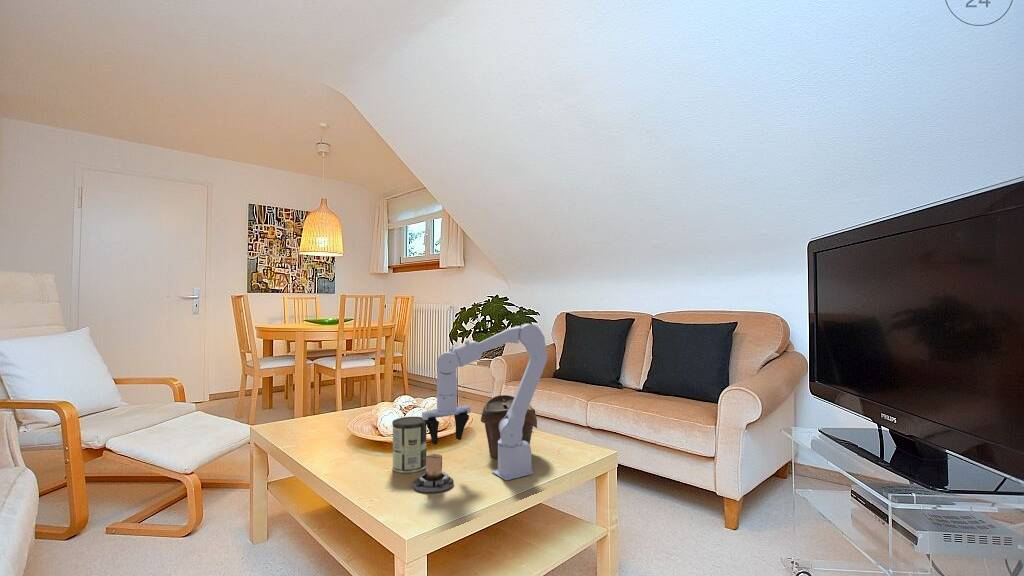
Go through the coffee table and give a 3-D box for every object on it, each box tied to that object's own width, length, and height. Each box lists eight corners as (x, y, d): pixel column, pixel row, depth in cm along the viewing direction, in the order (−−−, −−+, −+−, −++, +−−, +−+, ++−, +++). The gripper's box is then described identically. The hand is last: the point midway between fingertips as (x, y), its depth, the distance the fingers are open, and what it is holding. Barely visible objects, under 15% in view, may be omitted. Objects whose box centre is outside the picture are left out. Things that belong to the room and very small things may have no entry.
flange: (442, 474, 137) (442, 466, 137) (460, 487, 128) (460, 478, 128) (406, 483, 131) (406, 474, 131) (422, 496, 122) (422, 487, 122)
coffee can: (413, 459, 151) (413, 414, 151) (433, 466, 144) (433, 420, 144) (385, 467, 143) (385, 420, 143) (405, 476, 136) (405, 426, 137)
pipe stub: (436, 478, 132) (436, 453, 132) (445, 482, 129) (445, 456, 129) (422, 482, 129) (422, 456, 130) (431, 487, 126) (431, 460, 126)
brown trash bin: (518, 468, 142) (518, 407, 143) (468, 455, 154) (468, 400, 155) (549, 453, 157) (549, 399, 157) (502, 443, 169) (502, 392, 169)
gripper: (429, 399, 129) (429, 449, 129) (475, 393, 138) (475, 440, 137) (419, 395, 135) (418, 442, 135) (464, 389, 143) (463, 434, 143)
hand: (446, 441), depth 136 cm, fingers open, 7 cm apart
